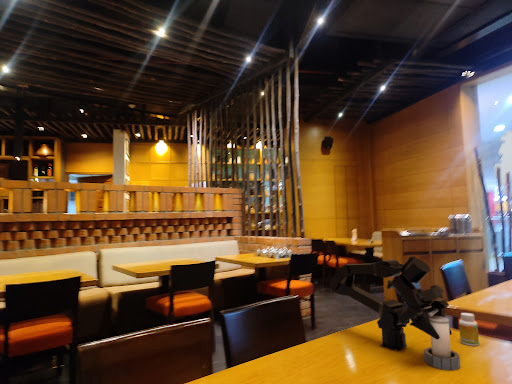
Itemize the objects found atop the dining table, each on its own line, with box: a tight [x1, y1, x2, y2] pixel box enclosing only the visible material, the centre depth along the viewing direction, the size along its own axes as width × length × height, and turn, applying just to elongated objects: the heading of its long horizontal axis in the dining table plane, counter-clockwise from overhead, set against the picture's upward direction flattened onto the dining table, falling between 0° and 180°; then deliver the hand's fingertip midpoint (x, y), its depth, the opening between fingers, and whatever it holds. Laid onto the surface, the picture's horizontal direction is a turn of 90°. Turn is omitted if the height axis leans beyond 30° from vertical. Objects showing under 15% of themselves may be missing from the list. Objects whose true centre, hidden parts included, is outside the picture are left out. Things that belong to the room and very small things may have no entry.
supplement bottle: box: [458, 312, 480, 347], centre depth 115 cm, size 5×5×10 cm
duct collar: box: [423, 347, 461, 371], centre depth 99 cm, size 9×9×3 cm
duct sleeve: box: [428, 316, 452, 358], centre depth 100 cm, size 5×5×13 cm
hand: (444, 336), depth 98 cm, fingers open, 6 cm apart
